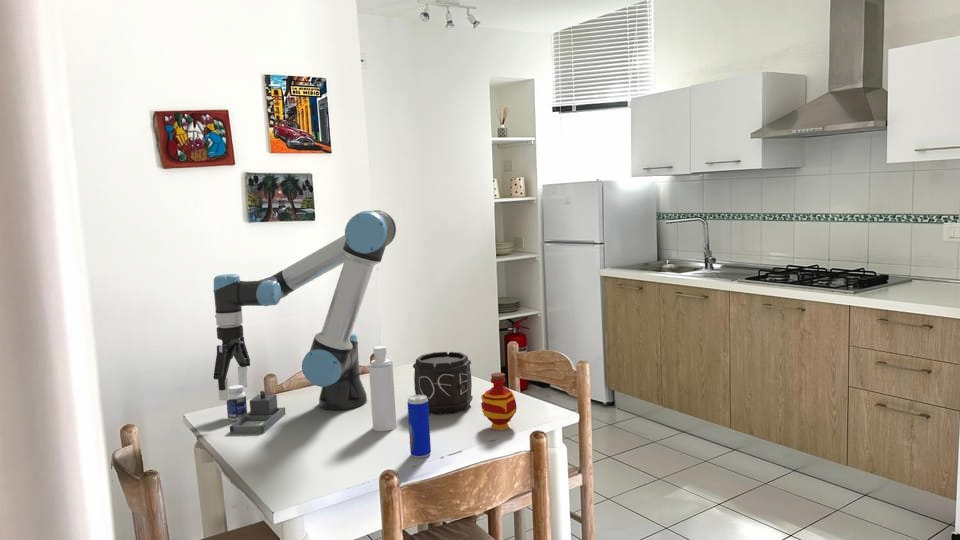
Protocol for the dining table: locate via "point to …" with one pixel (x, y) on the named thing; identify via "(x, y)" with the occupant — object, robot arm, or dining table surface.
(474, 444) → the dining table surface
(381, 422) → the spray bottle
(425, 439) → the beverage can
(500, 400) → the potion bottle
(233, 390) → the pill bottle
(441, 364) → the wooden barrel
